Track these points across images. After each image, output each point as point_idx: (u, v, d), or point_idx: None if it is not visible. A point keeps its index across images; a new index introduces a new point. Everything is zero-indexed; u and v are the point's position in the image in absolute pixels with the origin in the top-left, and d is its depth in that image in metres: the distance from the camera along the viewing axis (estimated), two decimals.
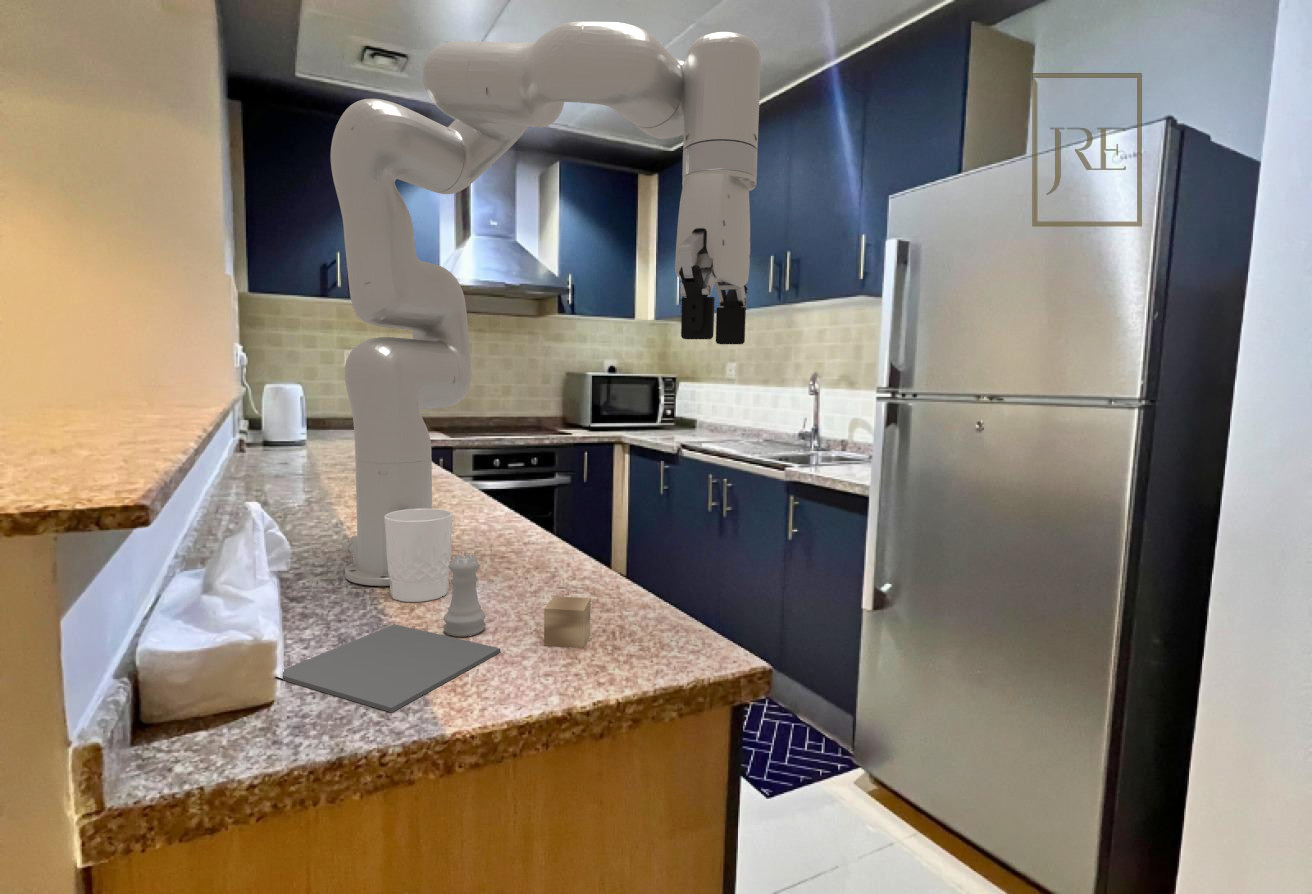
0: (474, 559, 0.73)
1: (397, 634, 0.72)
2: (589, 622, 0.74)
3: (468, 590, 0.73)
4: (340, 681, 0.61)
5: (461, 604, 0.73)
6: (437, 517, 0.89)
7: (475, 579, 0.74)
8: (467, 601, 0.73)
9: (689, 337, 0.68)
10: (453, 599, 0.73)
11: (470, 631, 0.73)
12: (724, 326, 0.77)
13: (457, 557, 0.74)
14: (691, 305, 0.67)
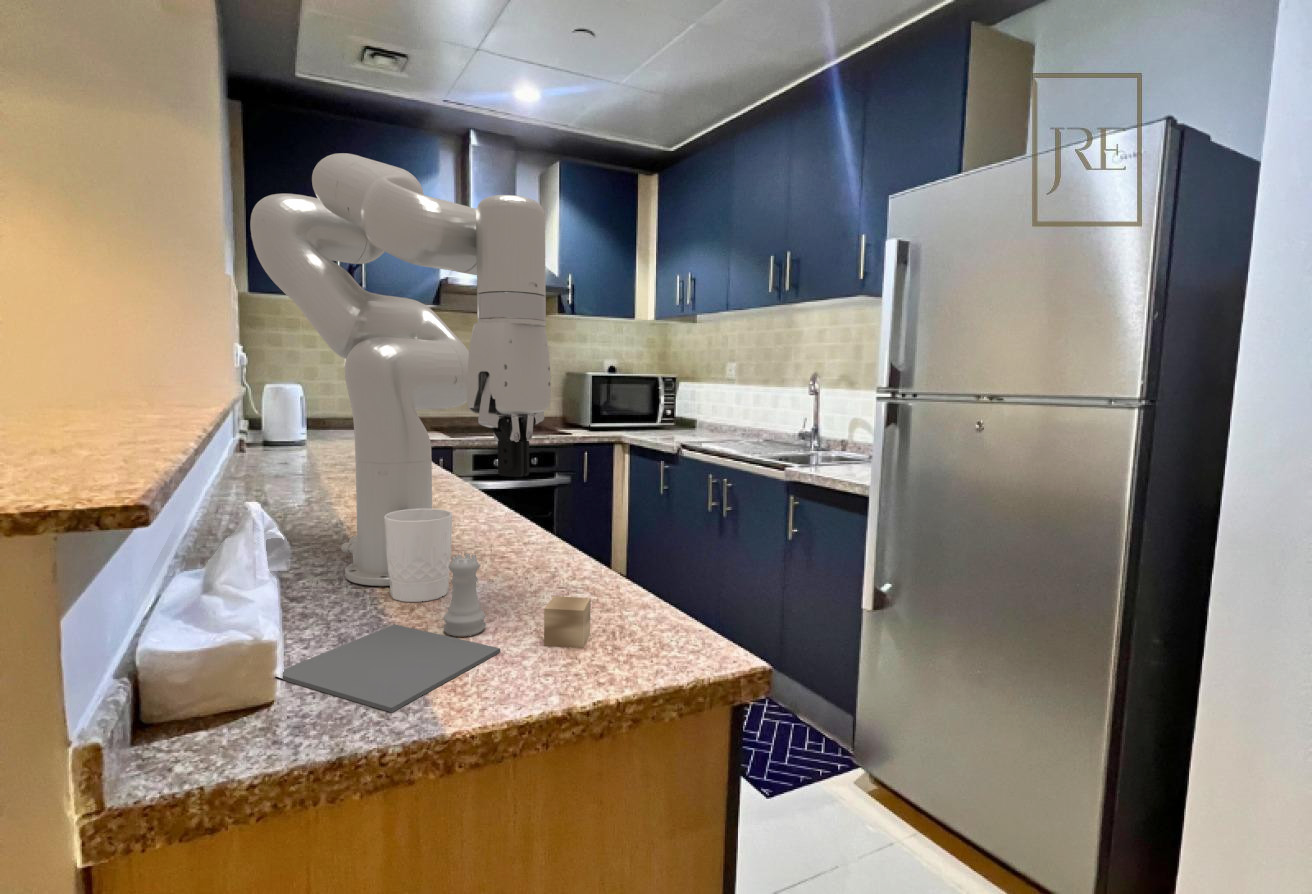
0: (474, 559, 0.74)
1: (397, 634, 0.72)
2: (589, 622, 0.74)
3: (468, 590, 0.73)
4: (340, 681, 0.61)
5: (461, 604, 0.73)
6: (437, 517, 0.89)
7: (475, 579, 0.74)
8: (467, 601, 0.73)
9: (504, 474, 0.79)
10: (453, 599, 0.73)
11: (470, 631, 0.73)
12: None
13: (457, 557, 0.74)
14: (503, 449, 0.78)
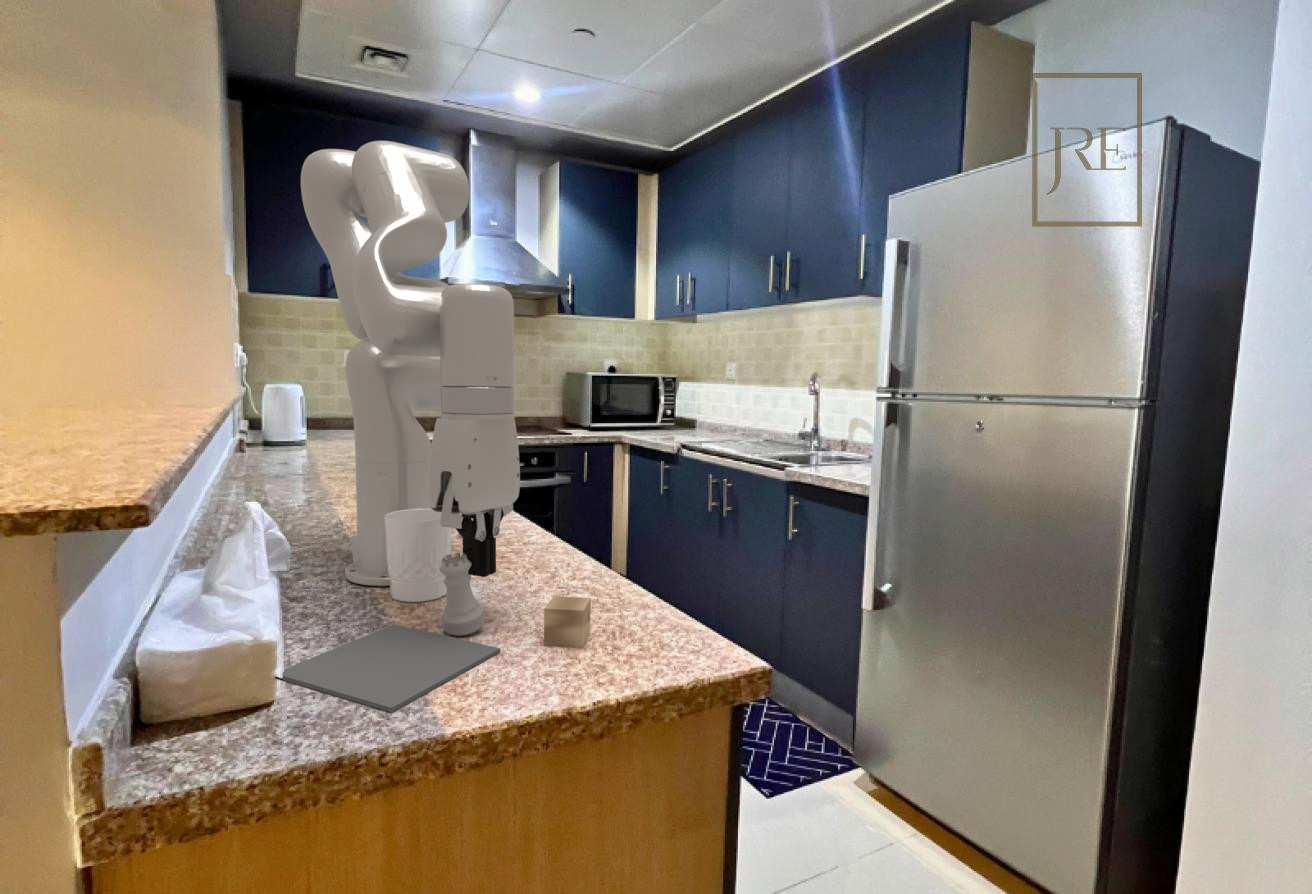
0: (464, 559, 0.72)
1: (397, 634, 0.72)
2: (589, 622, 0.74)
3: (463, 591, 0.72)
4: (340, 681, 0.61)
5: (457, 605, 0.72)
6: (437, 517, 0.89)
7: (468, 578, 0.73)
8: (462, 602, 0.72)
9: (469, 573, 0.75)
10: (448, 600, 0.72)
11: (469, 629, 0.73)
12: None
13: (447, 557, 0.73)
14: (467, 547, 0.74)
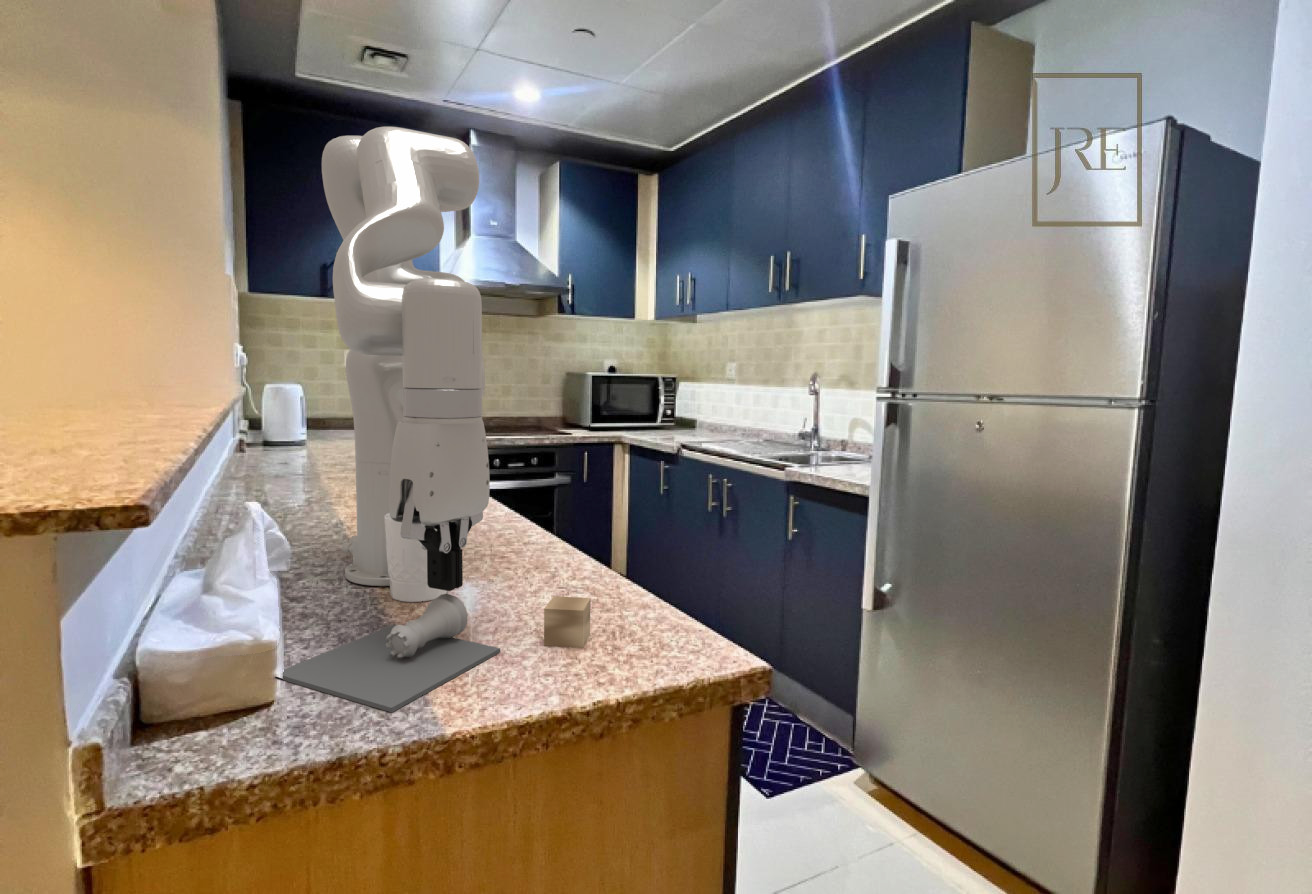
0: (406, 646, 0.65)
1: None
2: (589, 622, 0.74)
3: (429, 639, 0.68)
4: (340, 681, 0.61)
5: None
6: None
7: (423, 636, 0.66)
8: (436, 637, 0.69)
9: (434, 586, 0.71)
10: None
11: (461, 630, 0.71)
12: None
13: (388, 639, 0.65)
14: (431, 560, 0.70)
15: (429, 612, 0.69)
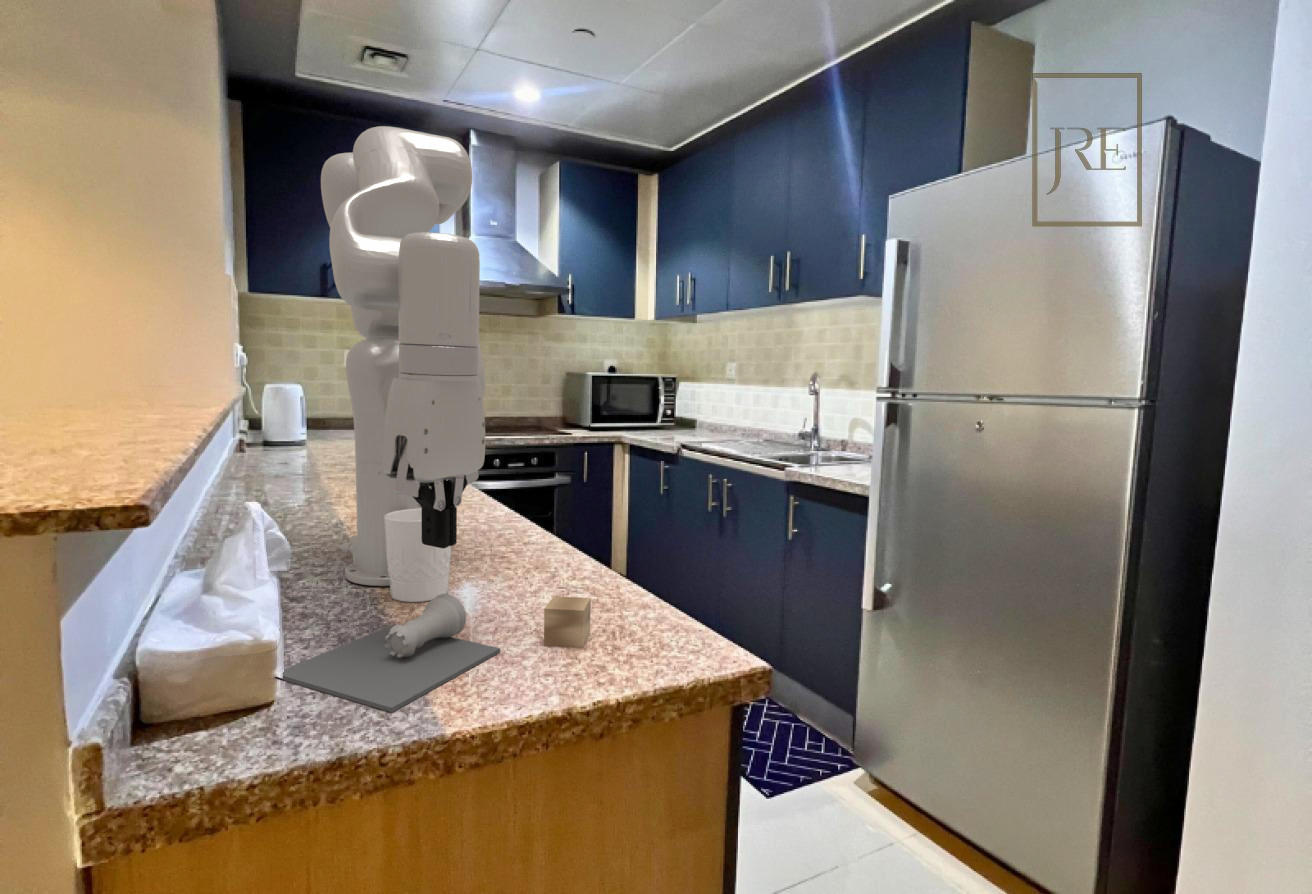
0: (405, 644, 0.65)
1: None
2: (589, 622, 0.74)
3: (428, 638, 0.68)
4: (340, 681, 0.61)
5: (434, 637, 0.69)
6: None
7: (422, 635, 0.66)
8: (436, 636, 0.69)
9: (428, 544, 0.71)
10: None
11: (460, 629, 0.71)
12: None
13: (387, 639, 0.65)
14: (426, 517, 0.70)
15: (426, 611, 0.69)
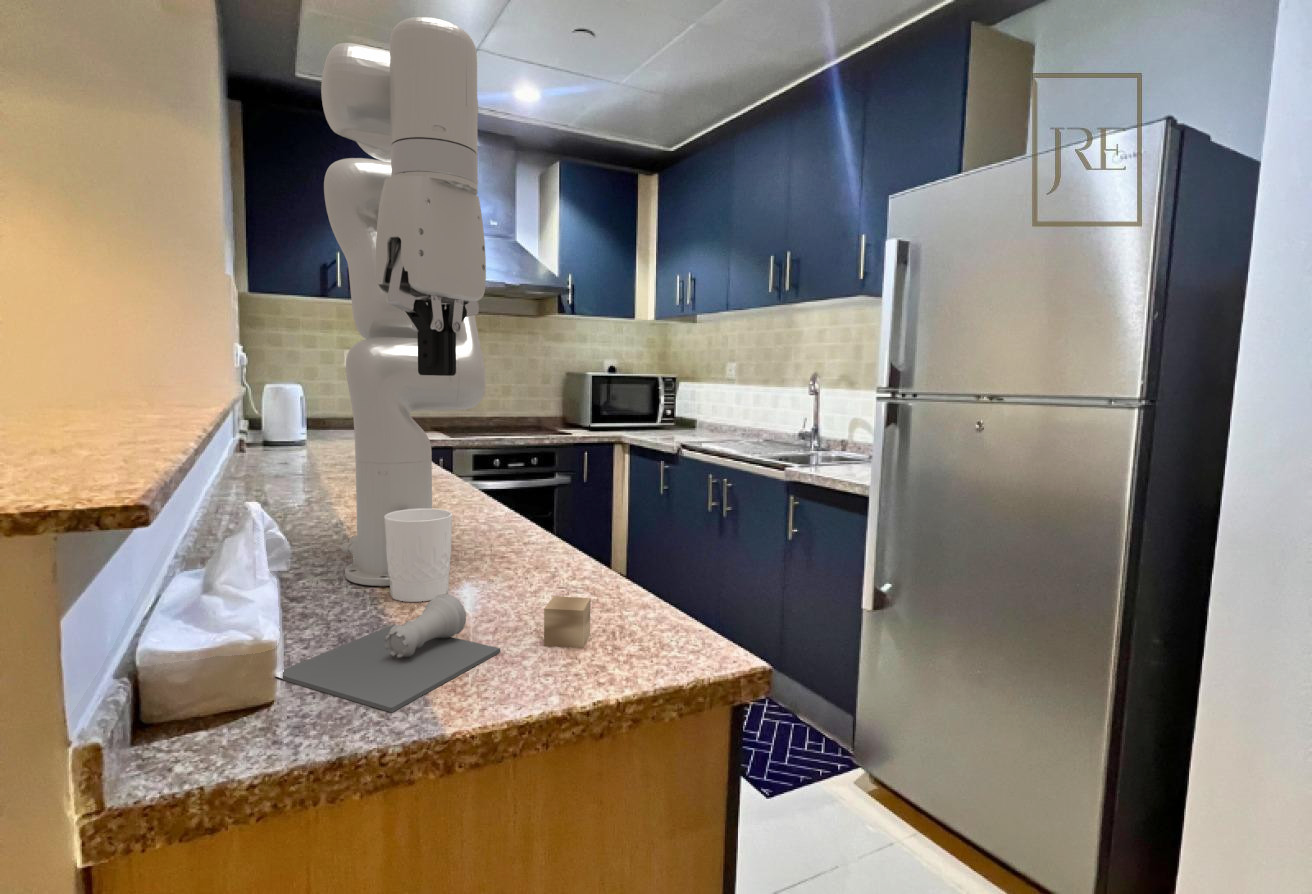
0: (405, 644, 0.65)
1: None
2: (589, 622, 0.74)
3: (428, 638, 0.68)
4: (340, 681, 0.61)
5: (434, 637, 0.69)
6: (437, 517, 0.89)
7: (422, 635, 0.66)
8: (436, 636, 0.69)
9: (425, 373, 0.65)
10: None
11: (460, 629, 0.71)
12: None
13: (387, 639, 0.65)
14: (422, 340, 0.64)
15: (426, 611, 0.69)
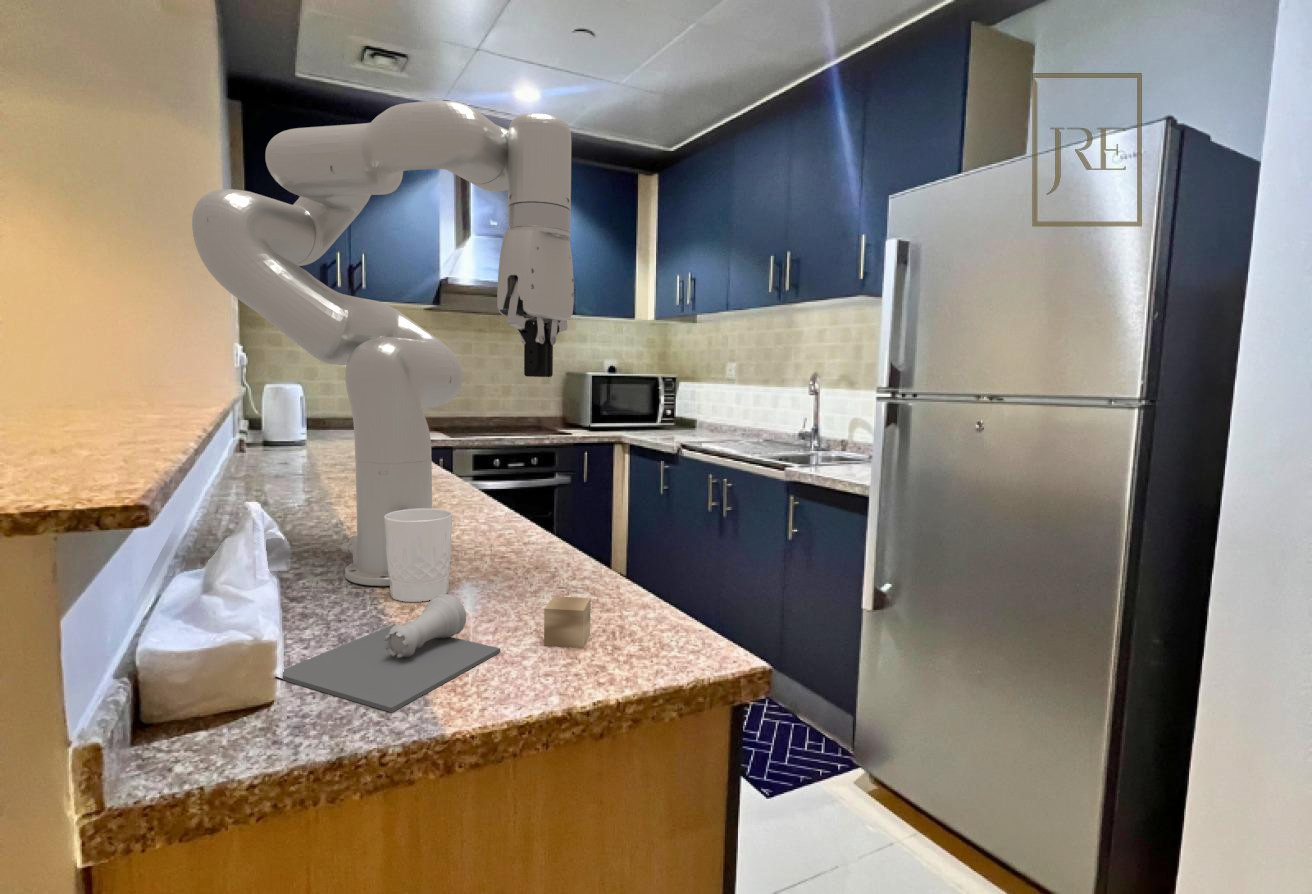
0: (405, 644, 0.65)
1: None
2: (589, 622, 0.74)
3: (428, 638, 0.68)
4: (340, 681, 0.61)
5: (434, 637, 0.69)
6: (437, 517, 0.89)
7: (422, 635, 0.66)
8: (436, 636, 0.69)
9: (529, 375, 0.86)
10: None
11: (460, 629, 0.71)
12: None
13: (387, 639, 0.65)
14: (529, 350, 0.85)
15: (426, 611, 0.69)
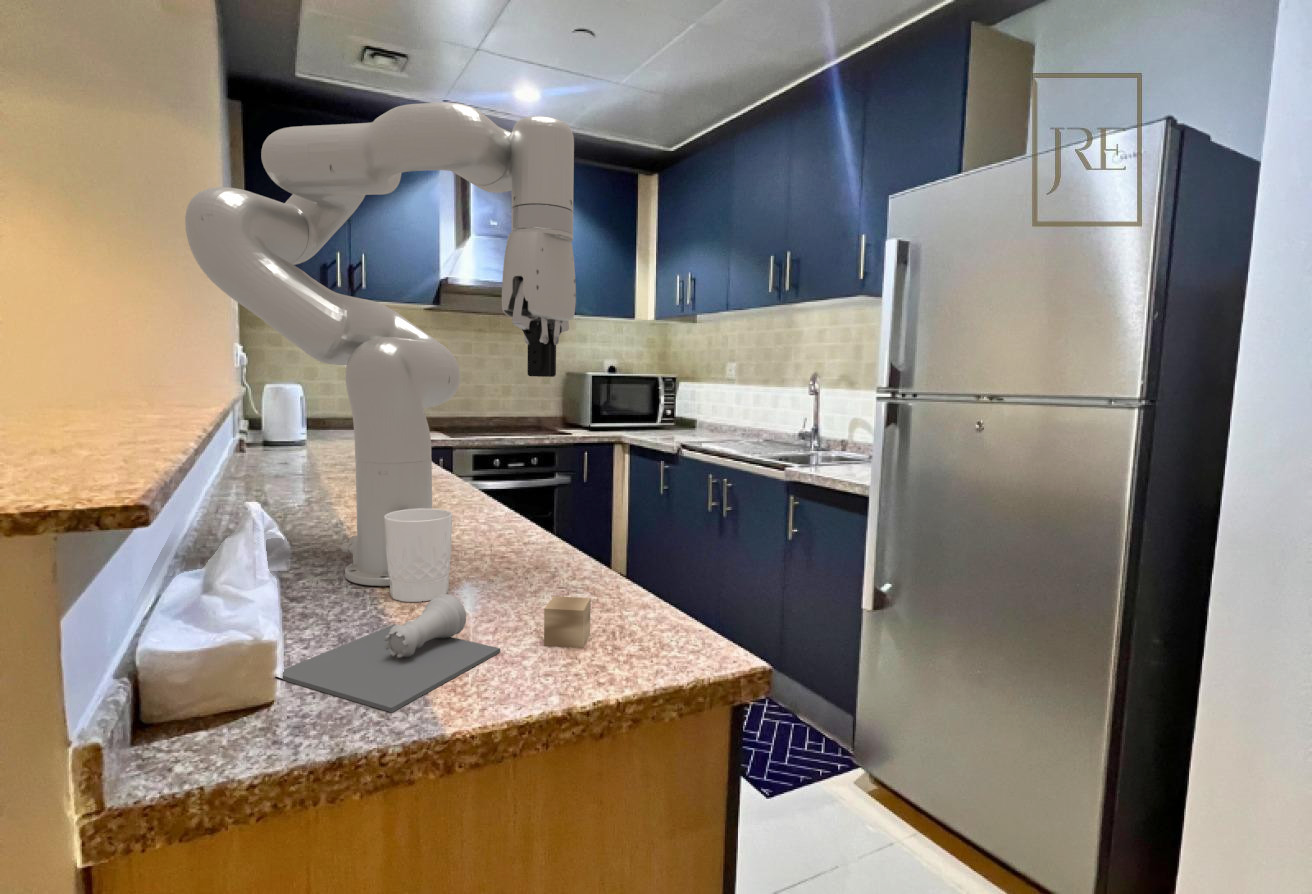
0: (405, 644, 0.65)
1: None
2: (589, 622, 0.74)
3: (428, 638, 0.68)
4: (340, 681, 0.61)
5: (434, 637, 0.69)
6: (437, 517, 0.89)
7: (422, 635, 0.66)
8: (436, 636, 0.69)
9: (533, 375, 0.87)
10: None
11: (460, 629, 0.71)
12: None
13: (387, 639, 0.65)
14: (532, 350, 0.86)
15: (426, 611, 0.69)
